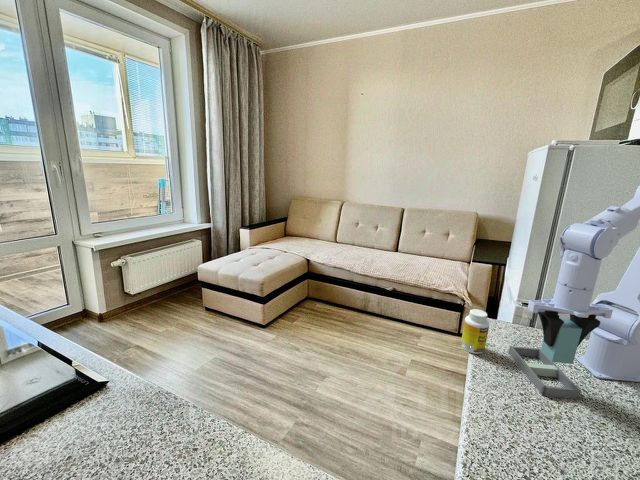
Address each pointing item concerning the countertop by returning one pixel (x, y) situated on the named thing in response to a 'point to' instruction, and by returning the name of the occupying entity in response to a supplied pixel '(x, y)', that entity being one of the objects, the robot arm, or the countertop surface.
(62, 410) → the countertop surface
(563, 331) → the plug
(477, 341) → the supplement bottle
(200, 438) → the countertop surface
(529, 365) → the caddy
